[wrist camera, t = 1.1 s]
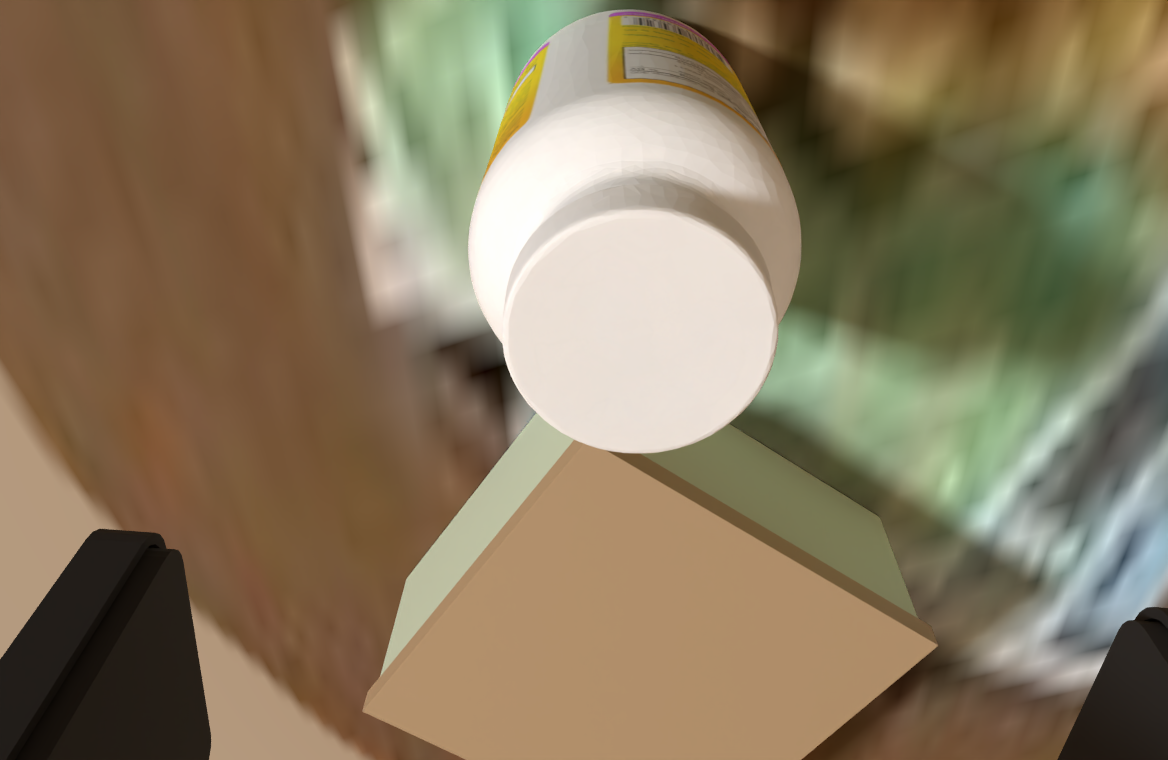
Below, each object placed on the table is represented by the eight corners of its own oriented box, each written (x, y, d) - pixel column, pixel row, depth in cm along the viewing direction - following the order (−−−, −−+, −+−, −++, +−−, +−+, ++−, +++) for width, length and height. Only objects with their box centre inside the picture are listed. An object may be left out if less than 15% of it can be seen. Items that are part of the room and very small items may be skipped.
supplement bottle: (556, 268, 30) (522, 540, 19) (470, 54, 27) (369, 227, 16) (773, 199, 29) (874, 446, 17) (709, -35, 26) (783, 86, 14)
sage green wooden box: (888, 516, 34) (938, 645, 29) (671, 718, 39) (680, 859, 34) (591, 331, 31) (587, 439, 26) (399, 579, 36) (362, 711, 31)
